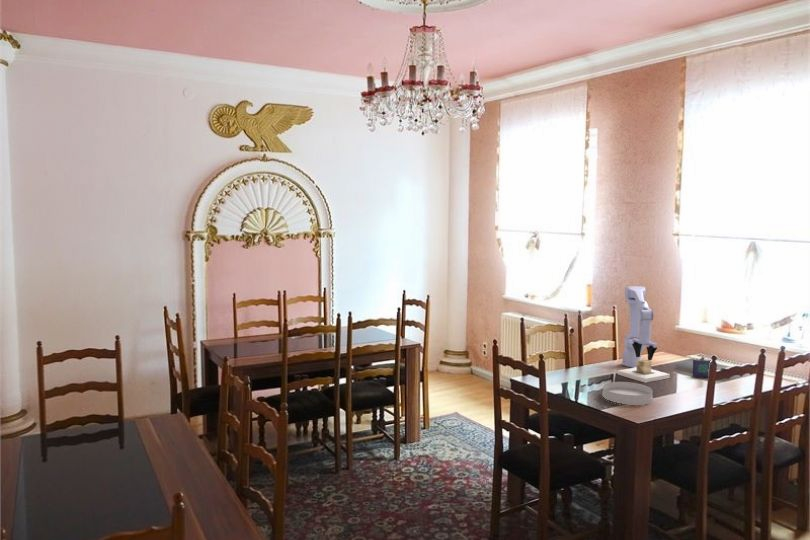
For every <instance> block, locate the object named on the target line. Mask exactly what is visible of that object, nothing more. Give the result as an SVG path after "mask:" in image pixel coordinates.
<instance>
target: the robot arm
mask: <svg viewBox="0 0 810 540" xmlns="http://www.w3.org/2000/svg"><path fill="white" fill-rule="evenodd" d="M624 296H625V297H624V299H625V301H626V302H627V303H628V305H629V307H628V309H629V332H628V333H627V334H625V335H624V350H623V352H622V359H621V360H622V361H621V362H622V363H620V365H622V366H625V367H630V368H636V367H637V360H641V359H642V352H643V351H644V349H645V348H646V351H647V360H649V361H652V360H653V358H654V354H655V352H656V350H657V349H658V343H657V342H653V341H651V338H652V321H653V320H654V311H653V309H651V308H650V306H649V304H648V302H647V301H646V300H645V297H646V287H645V286H640V285H639V286H635V285H634V286H629V285H627V286H626V287H625V289H624Z"/></svg>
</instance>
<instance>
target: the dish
mask: <svg viewBox="0 0 810 540" xmlns="http://www.w3.org/2000/svg"><path fill="white" fill-rule="evenodd" d="M653 392H654V391H653V389H652V388H651V387H650V386H648V385H645V384H643V383H637V382H629V381H613V382H606V383H603V385H602V391H601V397H602V396H603V397H604V398H605V399H607V400H610V401H613V402H617V403H622V404H629V405H641V406H646V405H645V404H648V405H650V404H652V403H653V402H654V400H653V399H654V397H653ZM603 397H602V398H603ZM605 399H604V400H605ZM607 400H606V401H607ZM652 401H653V402H652ZM651 402H652V403H651ZM649 403H650V404H649ZM629 405H628V406H629Z"/></svg>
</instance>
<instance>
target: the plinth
mask: <svg viewBox="0 0 810 540" xmlns="http://www.w3.org/2000/svg"><path fill="white" fill-rule="evenodd" d="M617 375H618V376H620V377H621V376H622V377H625V378H629V379H631V380H635V381H639V382H642V383H645V384H646V383H652V382H654V381H655V382H656V381H660V380H661V381H662V380H666V379H670V378H671V375H670V373H667V372H662V371H659V370H657V369H653V368H651V373H645V374H644V373H640V372H637V367H636V368H632V367H630V368H625V369H619V370H617Z"/></svg>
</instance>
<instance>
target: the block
mask: <svg viewBox="0 0 810 540" xmlns="http://www.w3.org/2000/svg"><path fill="white" fill-rule="evenodd" d="M651 369H652V360H648V359H645V358H641V360H637V372H640V373H644V374H645V373H651Z"/></svg>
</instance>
